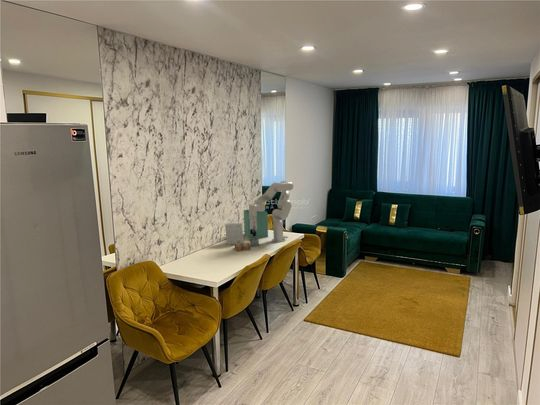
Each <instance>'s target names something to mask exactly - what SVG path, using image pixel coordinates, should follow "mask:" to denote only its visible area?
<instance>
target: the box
mask: <svg viewBox="0 0 540 405" xmlns="http://www.w3.org/2000/svg"><path fill="white" fill-rule="evenodd" d="M268 220H269V219H268V212H267V211H266V209H265V210H264V211H263V212H257V219H256V221H257V230H256V236H253V234H250V219H249V209H244V210H243V225H244V226H243V228H244V229H243V230H244V233H243V235H244V236H245V237H247V239H256V238H257V239H262V238H269V222H268Z"/></svg>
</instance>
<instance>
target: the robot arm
mask: <svg viewBox="0 0 540 405" xmlns="http://www.w3.org/2000/svg"><path fill="white" fill-rule="evenodd" d="M293 189H294V184H293V182H291V181H286V180H282V181H280V182H272V183H271V185H270V186H269V187H268V188H267V190H266V191H265V192H264V193H263V194H262V195H260V196H259V197H257V199H256V200H255V201H254V203H253V204H252V203H251V204H248V210H249V219H250V234H253V236H256V230H257V221H256V219H257V212H263V211H264V210H265V211H266V206H265V205H264V203H265V202H268V201H270V200H272V199H273V198H274V197H275V195H276V194H277V193H278V192H279V193H280V196H279V198H278V202H277V204H276V205H277V208H275V209H273V210H272V213H271V217H272V224H273V226H272V228H273V229H272V230H273V232H272V233H273V238H272V240H271V241H272V242H275V243H281V242H285V240H286V239H288V238H289V237H288V235H284V222H283V221H285V220H287V218H288V217H289V215H290V212H291V209H292V202H291V200H289V199H290V196H291V195H290V191H292V190H293Z"/></svg>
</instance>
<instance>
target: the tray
mask: <svg viewBox="0 0 540 405" xmlns="http://www.w3.org/2000/svg"><path fill="white" fill-rule="evenodd" d="M248 243H249V242H248ZM248 243H246V242H243V243H239V244H234V249H235V250H236V251H237V252H244V250H245V251H250V250H251V246H249V245H250V244H249V245H248Z"/></svg>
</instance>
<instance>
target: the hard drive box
mask: <svg viewBox="0 0 540 405" xmlns="http://www.w3.org/2000/svg"><path fill="white" fill-rule="evenodd" d="M243 230H244V229H243V223H242V222H227V223H226V224H225V239H226V245H235V244H239V243H244V236H243V235H244V233H243Z"/></svg>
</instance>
